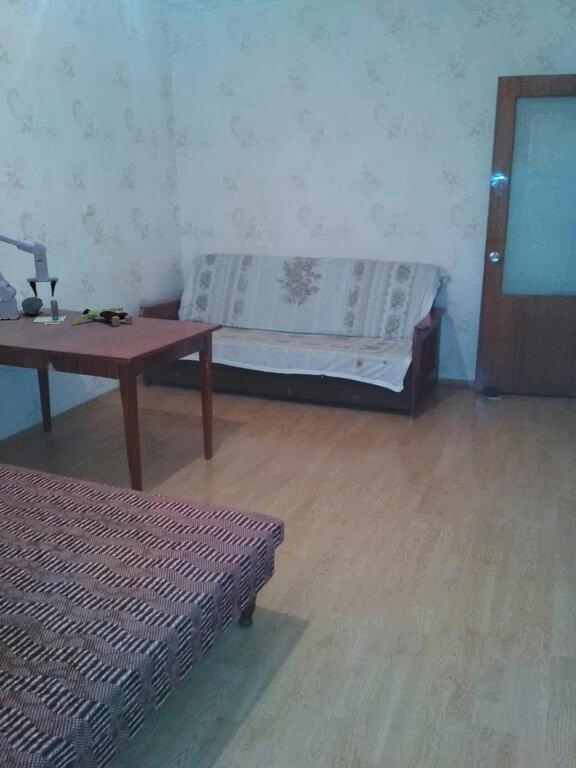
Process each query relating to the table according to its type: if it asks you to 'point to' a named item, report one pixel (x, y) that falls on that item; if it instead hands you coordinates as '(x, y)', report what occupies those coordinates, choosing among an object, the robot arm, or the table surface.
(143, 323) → the table surface
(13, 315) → the robot arm
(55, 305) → the marker
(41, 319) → the paper
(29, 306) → the rock
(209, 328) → the table surface
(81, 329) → the table surface
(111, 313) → the toy
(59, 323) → the plate
